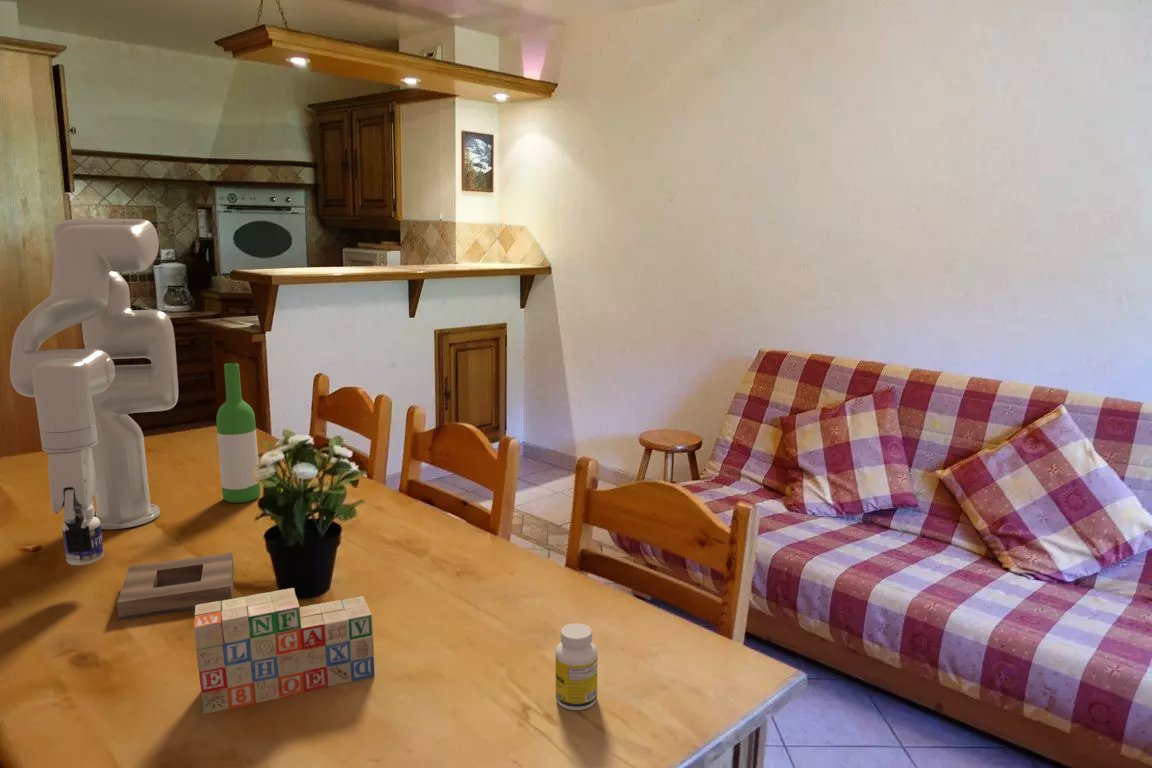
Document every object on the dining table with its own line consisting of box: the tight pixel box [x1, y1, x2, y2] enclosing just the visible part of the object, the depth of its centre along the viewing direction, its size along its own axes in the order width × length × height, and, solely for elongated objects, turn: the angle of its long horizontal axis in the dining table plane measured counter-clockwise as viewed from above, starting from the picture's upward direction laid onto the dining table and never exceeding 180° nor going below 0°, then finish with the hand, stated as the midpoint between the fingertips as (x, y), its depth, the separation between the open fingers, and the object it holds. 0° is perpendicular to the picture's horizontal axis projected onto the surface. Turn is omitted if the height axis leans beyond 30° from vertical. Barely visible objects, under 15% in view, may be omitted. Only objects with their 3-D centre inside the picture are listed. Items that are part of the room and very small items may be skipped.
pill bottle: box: [61, 504, 105, 566], centre depth 131 cm, size 5×5×9 cm
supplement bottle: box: [555, 622, 598, 711], centre depth 103 cm, size 5×5×10 cm
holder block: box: [116, 552, 235, 621], centre depth 132 cm, size 14×16×3 cm
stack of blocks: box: [193, 587, 375, 715], centre depth 106 cm, size 21×6×12 cm, turn 114°
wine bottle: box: [215, 362, 261, 504], centre depth 174 cm, size 8×8×30 cm
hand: (83, 542), depth 131 cm, fingers closed on pill bottle, 5 cm apart
